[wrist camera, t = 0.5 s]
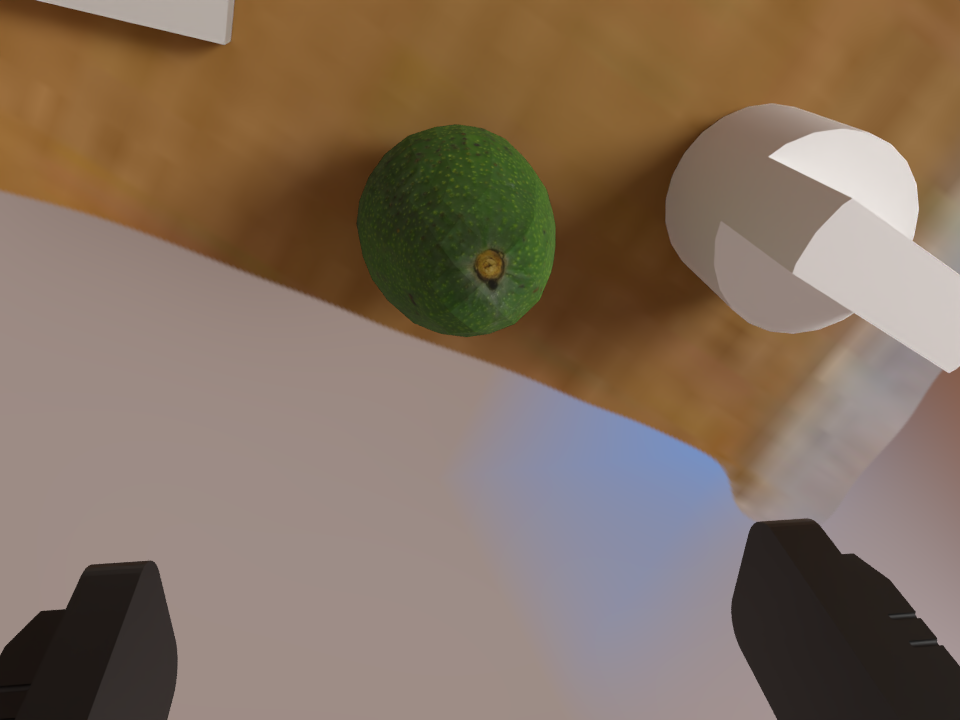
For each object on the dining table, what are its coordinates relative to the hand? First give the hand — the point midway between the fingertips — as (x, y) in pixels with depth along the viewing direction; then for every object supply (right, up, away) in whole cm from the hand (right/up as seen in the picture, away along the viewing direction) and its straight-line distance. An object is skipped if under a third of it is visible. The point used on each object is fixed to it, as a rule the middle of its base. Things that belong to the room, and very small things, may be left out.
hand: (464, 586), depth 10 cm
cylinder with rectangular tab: (+14, +11, +27) cm, 32 cm away
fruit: (-1, +11, +25) cm, 27 cm away
